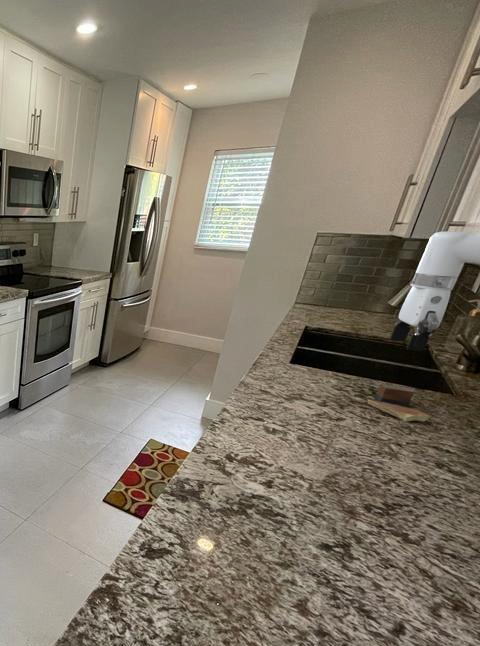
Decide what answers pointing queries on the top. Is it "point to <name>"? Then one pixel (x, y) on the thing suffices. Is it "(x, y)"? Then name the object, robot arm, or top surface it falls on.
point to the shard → (399, 411)
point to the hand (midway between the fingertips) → (405, 345)
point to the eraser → (394, 394)
